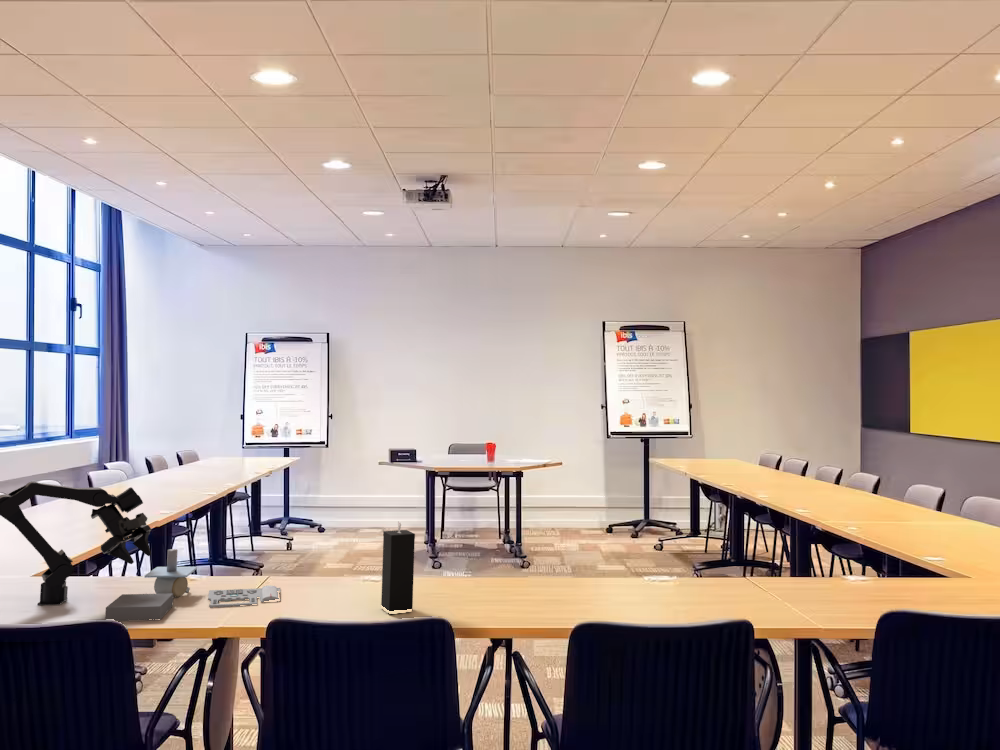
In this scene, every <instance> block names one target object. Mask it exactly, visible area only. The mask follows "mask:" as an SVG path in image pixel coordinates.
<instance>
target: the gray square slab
mask: <svg viewBox="0 0 1000 750" xmlns="http://www.w3.org/2000/svg"><path fill="white" fill-rule="evenodd" d="M172 606H174V597H173V593H169V594H156V593H135V594H134V593H133V594H131V593H130V594H129V593H128V594H126V593H125V594H121V595H119V596H118V597H117V598H116V599H114V600H113V601H112V602H111V603H109V604H108V605H107V606H106V607H105V612H104V613H105V615H104V620H105V619H114V620H119V621H118V622H130V621H129V620H143V621H150V620H149V619H152V620H151V621H156V620H155V619H160V620H162V619H163V617H164V616H165V615H166V614H167V613H168V612H169V611H170V610H171V609H172V608H173V607H172ZM171 607H172V608H171ZM153 619H154V620H153Z"/></svg>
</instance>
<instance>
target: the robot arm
mask: <svg viewBox="0 0 1000 750" xmlns="http://www.w3.org/2000/svg"><path fill="white" fill-rule="evenodd" d="M34 496H42V497H49V498H57V499H63V500H71V501H76V502H80V503H82V504H85V505H89V506H93V507H96V508H97V509H94V508H93V509H91V511H92V512H91V515H90V517H91V518H90V519H91V520H93V519H96V518H97V517H98V518H99V519H100V521H101V522H102V524H103V525H104V526H105V527H106V529H105V530H104V531H105V533H106V534H108V533H110V534H111V537H109V538H108V539H107V540H106V541H104V543H102V544H100V550H101V552H102V553H103V554H104V555H105V554H107V555H109V556H113V557H115V558H117V559H120V560H122V561H124V562H125V563H128V564H129V565H132V564H134V563H135V561H134V560H133V557H132V556H131V554H130V553H129V550H128V549H127V547H126V543H127V542H128V541H131V542H132V545H134V546H135V547H136V548H138V549H139V550H140V551H141V552H142V553H143V554H144V555H146V557H147V556H148V557H150V556H151V555H152V552H151V548H150V544H149V535H150V534H151V531H152V527H150V525H149V524H147V523H146V522H148V517H147V515H146V514H145V513H144V512H141V513H137V514H135V517H134V518H132V519H130V518H129V517H128V516H125V517H124V516H123V515H122V513H124V512H125V513H127V514H128V513H130V512H131V511H133V510H135V509H136V508H138V507H139V506H141V505H142V504H144V502H143V500H142V498H141V496H140V495H139V494H138V493H137V492H136V491H135V490H134V488H133V487H132V486H131V487H128V488H127V489H125V490H124V491H122V492H121V493H119V494H117V495H114V494H113V493H112V494H109V492H107V490H105V489H104V488H101V487H69V486H63V485H57V484H49V483H44V482H43V483H41V482H37V481H30V482H29V481H28V483H26V484H24V485H23V486H21V487H19V488H16V489H14V490H13V491H10V492H9V493H5V494H4V493H3V494H0V517H2V518H4V520H6V521H8V522H9V523H10V524H12V525H13V526H14V527H15V528H16V529H17V530H18V531H19V532H20V534H21V535H22V536H23V537H24V538H25V539H26V540H27V541H28V542H29V544H30V545H32V547H33V548H34V549H35V551H37V553H39V554H40V556H41V557H42V558H43V560H44V562H45V563H46V565H47V567H48V568H47V569H46V570H45V571H44V572H43V573H42V574H41V578H42V580H43V582H42V583H41V584H40V591H39V592H40V594H39V595H40V597H39V602H37V605H38V606H48V605H51V606H52V605H57V606H59V605H61V604H63V603H64V602H66V601H68V588H69V586H67V578H69V577H70V576H71V575H72V573H73V572H74V565H73V563H74V562H73V560H72V559H71V557H69V556H67V554H66V552H65V551H64V550H63V549H62V548H61V549H60V550H59V551H57V550H56V549H54V548H53V547H52V546H51V544H50V543H49V542H48V541H47V540H46V539H45V537H43V535H42V534H40V532H39V531H38V529H36V528H35V527H34V525H33V524H32V523H31V522H30V521H29V520H28V519H27V518H26V516H25V514H24V512H23V510H22V509H21V505H22V504H24V503H25V502H27V501H28V500H30V499H31V498H33V497H34ZM117 507H118V508H117ZM120 511H121V512H120Z"/></svg>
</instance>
